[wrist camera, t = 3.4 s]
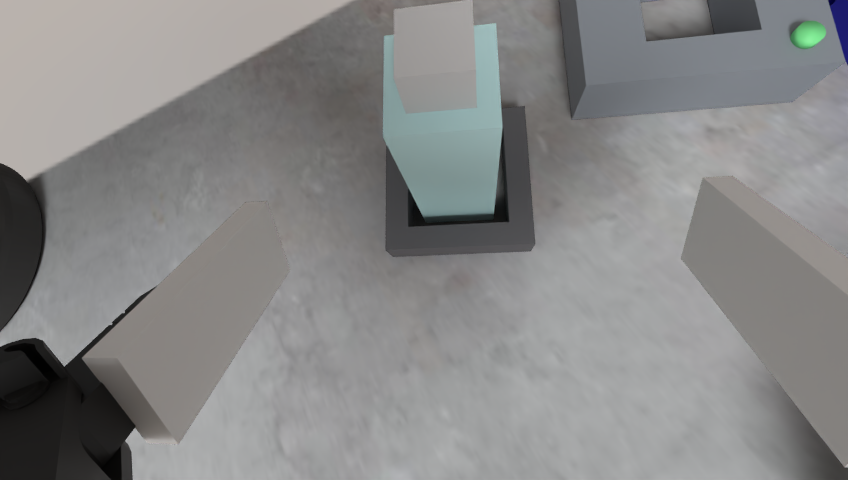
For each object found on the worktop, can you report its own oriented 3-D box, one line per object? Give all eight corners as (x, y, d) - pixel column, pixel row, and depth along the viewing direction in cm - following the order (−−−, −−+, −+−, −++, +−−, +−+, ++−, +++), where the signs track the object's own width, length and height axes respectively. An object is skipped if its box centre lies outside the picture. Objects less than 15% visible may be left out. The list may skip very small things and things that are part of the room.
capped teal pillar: (426, 222, 24) (366, 104, 12) (425, 161, 25) (369, -10, 13) (493, 219, 24) (506, 92, 11) (490, 156, 25) (498, -26, 12)
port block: (571, 119, 24) (588, 79, 21) (557, -18, 27) (569, -77, 23) (792, 101, 23) (854, 54, 19) (756, -43, 25) (806, -110, 21)
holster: (393, 256, 24) (385, 250, 22) (393, 134, 26) (386, 117, 24) (530, 251, 23) (535, 243, 21) (521, 123, 25) (524, 106, 23)
